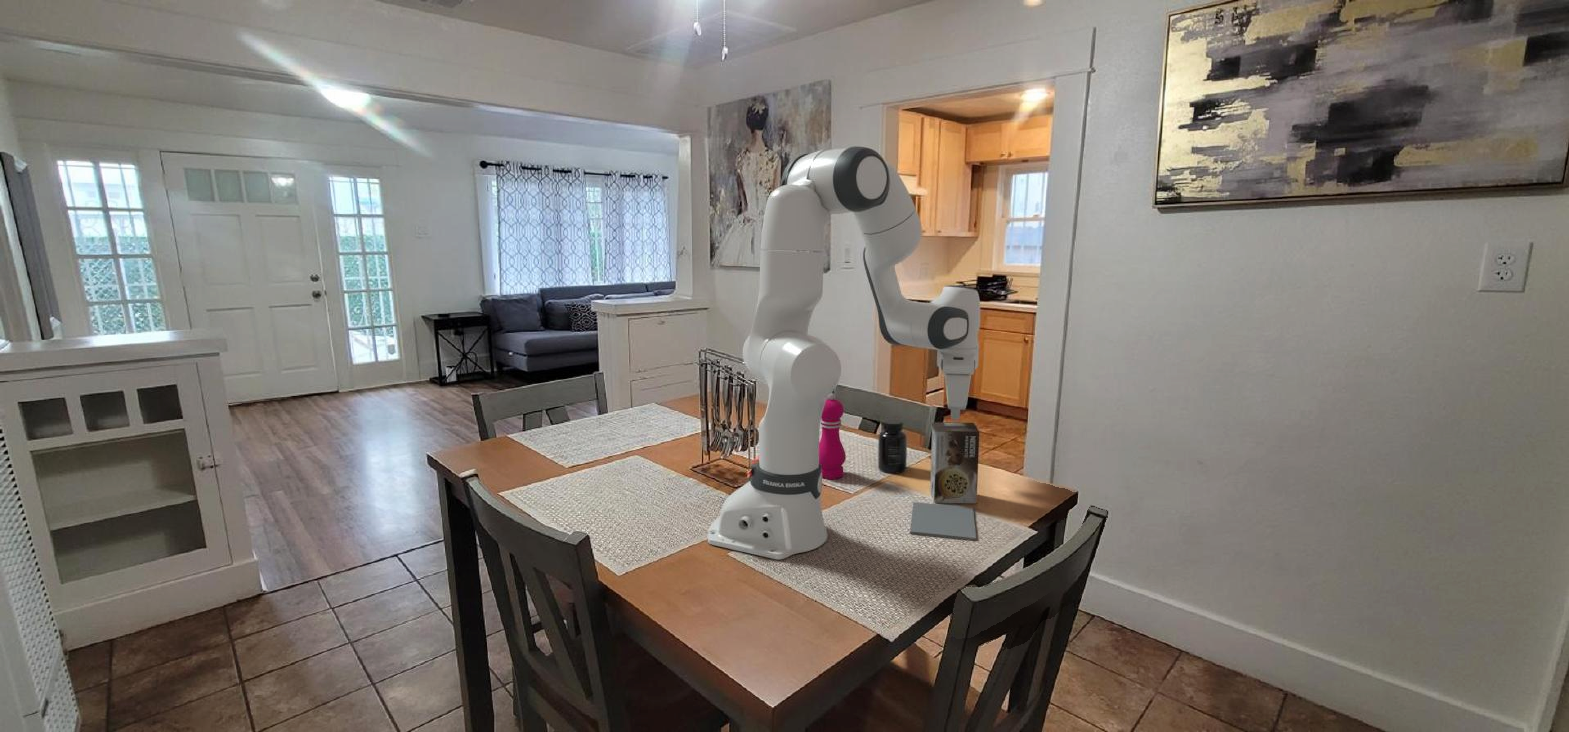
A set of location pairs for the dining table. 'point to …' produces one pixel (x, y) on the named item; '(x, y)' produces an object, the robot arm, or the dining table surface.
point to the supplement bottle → (892, 447)
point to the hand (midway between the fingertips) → (955, 418)
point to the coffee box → (954, 462)
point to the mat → (943, 521)
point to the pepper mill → (831, 440)
